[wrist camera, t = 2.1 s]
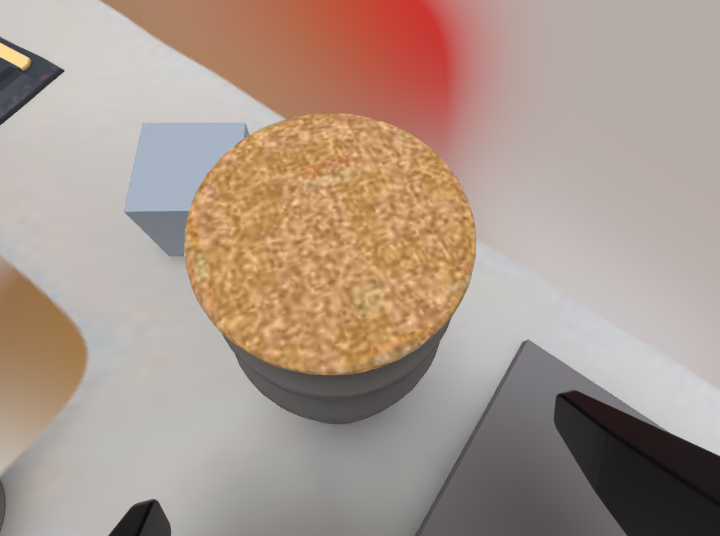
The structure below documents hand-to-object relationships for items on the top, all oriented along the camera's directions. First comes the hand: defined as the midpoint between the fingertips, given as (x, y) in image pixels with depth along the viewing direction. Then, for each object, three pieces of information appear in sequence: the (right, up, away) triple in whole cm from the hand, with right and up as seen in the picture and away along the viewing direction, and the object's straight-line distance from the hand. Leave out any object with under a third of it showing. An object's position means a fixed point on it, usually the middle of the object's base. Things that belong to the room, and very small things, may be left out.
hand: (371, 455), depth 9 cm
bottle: (-1, -1, +12) cm, 12 cm away
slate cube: (-9, +7, +14) cm, 18 cm away
